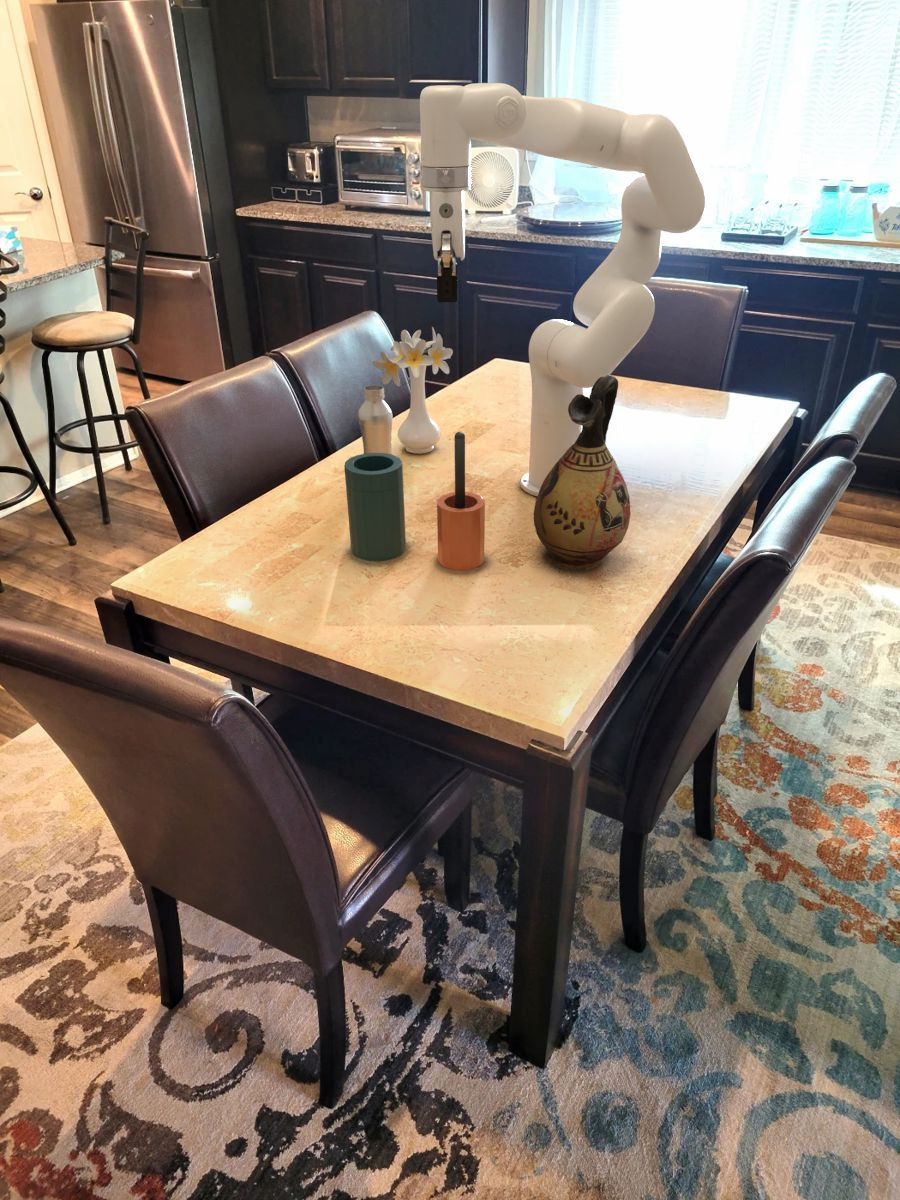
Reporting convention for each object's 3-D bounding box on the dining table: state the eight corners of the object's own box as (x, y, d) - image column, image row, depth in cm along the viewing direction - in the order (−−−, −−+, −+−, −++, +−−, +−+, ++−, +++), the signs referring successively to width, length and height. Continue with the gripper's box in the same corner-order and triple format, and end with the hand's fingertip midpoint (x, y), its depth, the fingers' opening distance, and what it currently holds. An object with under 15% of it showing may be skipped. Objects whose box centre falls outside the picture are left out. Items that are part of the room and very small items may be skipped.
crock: (483, 551, 144) (484, 491, 139) (484, 573, 138) (485, 511, 132) (438, 551, 144) (437, 491, 139) (437, 573, 138) (436, 512, 132)
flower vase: (371, 459, 181) (363, 340, 168) (415, 432, 194) (411, 320, 181) (423, 470, 175) (420, 347, 162) (466, 441, 189) (465, 326, 176)
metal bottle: (392, 495, 164) (387, 393, 154) (358, 492, 166) (351, 392, 155) (400, 482, 170) (396, 383, 160) (368, 480, 171) (361, 381, 161)
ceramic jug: (603, 589, 133) (620, 402, 117) (515, 565, 140) (521, 385, 124) (643, 546, 145) (663, 371, 129) (560, 526, 152) (571, 358, 137)
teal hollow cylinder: (407, 538, 148) (403, 452, 140) (404, 564, 141) (400, 474, 132) (354, 539, 149) (348, 452, 140) (348, 564, 141) (341, 474, 132)
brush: (470, 554, 142) (470, 428, 131) (470, 563, 139) (470, 435, 128) (450, 554, 142) (449, 428, 131) (450, 564, 139) (449, 435, 128)
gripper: (471, 184, 123) (471, 307, 132) (470, 174, 138) (470, 284, 147) (419, 185, 123) (422, 307, 132) (423, 174, 138) (426, 285, 147)
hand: (447, 295), depth 139 cm, fingers open, 9 cm apart
